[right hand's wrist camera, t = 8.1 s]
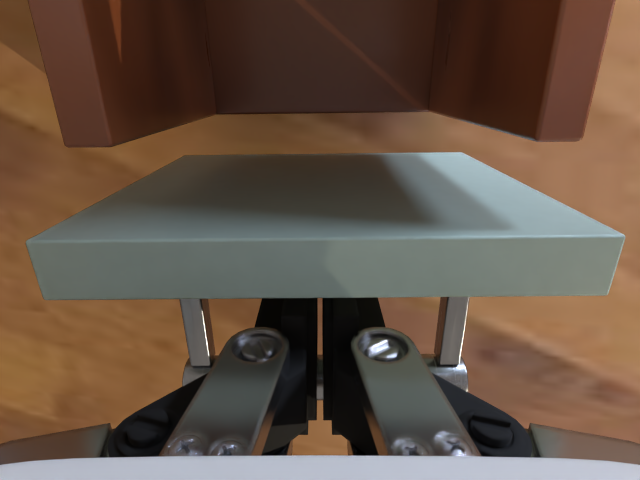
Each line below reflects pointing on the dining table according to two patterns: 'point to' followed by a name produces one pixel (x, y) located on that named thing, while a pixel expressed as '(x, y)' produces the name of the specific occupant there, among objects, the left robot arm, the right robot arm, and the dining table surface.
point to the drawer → (323, 155)
